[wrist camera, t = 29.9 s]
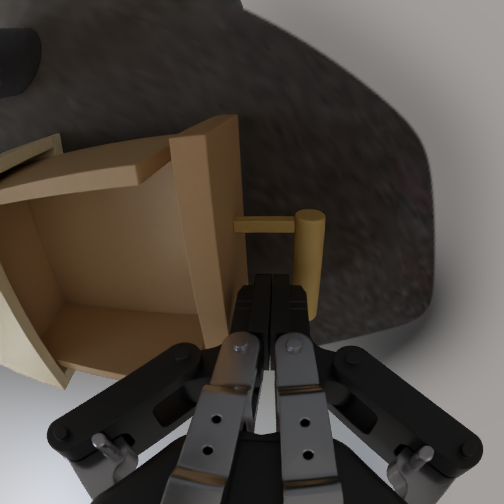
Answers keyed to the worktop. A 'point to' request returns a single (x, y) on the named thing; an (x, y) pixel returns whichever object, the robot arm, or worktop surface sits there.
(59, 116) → the worktop surface
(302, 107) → the worktop surface
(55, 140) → the cabinet
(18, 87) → the metal can
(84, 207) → the drawer
